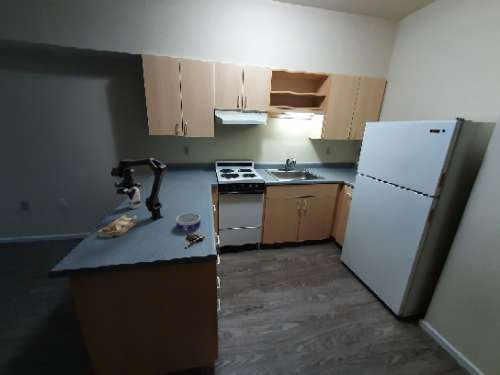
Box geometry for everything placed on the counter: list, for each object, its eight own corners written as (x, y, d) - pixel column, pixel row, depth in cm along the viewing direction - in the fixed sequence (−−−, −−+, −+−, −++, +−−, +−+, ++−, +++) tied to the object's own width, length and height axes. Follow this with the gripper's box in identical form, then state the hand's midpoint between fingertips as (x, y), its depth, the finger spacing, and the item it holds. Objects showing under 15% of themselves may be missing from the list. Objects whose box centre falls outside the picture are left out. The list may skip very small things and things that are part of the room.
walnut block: (111, 229, 132) (109, 223, 131) (116, 230, 131) (115, 224, 130) (103, 234, 126) (102, 228, 125) (109, 235, 126) (108, 229, 124)
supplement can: (130, 205, 170) (127, 187, 165) (141, 204, 173) (139, 186, 168) (128, 209, 162) (125, 190, 158) (140, 208, 165) (138, 189, 161)
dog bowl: (176, 232, 131) (175, 224, 130) (177, 221, 145) (176, 213, 144) (201, 230, 136) (201, 221, 134) (200, 219, 150) (199, 211, 148)
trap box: (126, 218, 148) (125, 214, 147) (142, 219, 147) (141, 215, 146) (98, 236, 125) (97, 231, 124) (117, 238, 124) (116, 233, 123)
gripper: (126, 174, 154) (129, 194, 159) (106, 181, 137) (110, 203, 141) (140, 175, 153) (143, 195, 158) (122, 182, 136) (126, 204, 140)
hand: (131, 199), depth 150 cm, fingers closed
